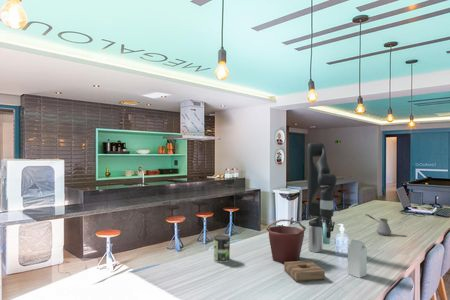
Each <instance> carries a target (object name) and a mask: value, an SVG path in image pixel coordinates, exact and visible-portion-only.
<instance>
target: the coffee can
mask: <svg viewBox="0 0 450 300" xmlns="http://www.w3.org/2000/svg"><path fill="white" fill-rule="evenodd" d="M230 240H231V237H230V236H229V235H224V234H223V235H221V234H220V235H215V236H213V261H214V262H216V263H219V264H220V263H221V264H222V263H223V264H224V263H228V262H230V260H231V258H230V257H231V256H230V253H231V252H230V249H231V248H230V247H231V245H230V243H231V241H230Z"/></svg>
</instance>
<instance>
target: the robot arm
mask: <svg viewBox="0 0 450 300" xmlns="http://www.w3.org/2000/svg"><path fill="white" fill-rule="evenodd" d="M306 151H307V152H306V153H307V196H306V197H307V198H306V199H307V200H306V201H307V202H306V214H307V215H308V216H316V218H314V219H310V220H309V221H308V251H309V252H313V253H321V252H323V223H325V227H326V230H327V238H330V239H331V237H332V233H331V232H334V228H335V221H333V220H332V217H334V206H335V205H334V191H335V188H336V184H337V176H336V174H334V173H331V169H330V166H329V163H328V159H327V153H326V152H327V150H326V147H325V144H324V143H323V142H310V143H308V144H307V149H306ZM314 157H315V158H316V157H317V158H318V157H319V159H318V160H317V162H316V164H315V161H314ZM321 186H322V187H323V186H325V187H328V188H326V189H321V191H320V201H319V202H317V201H313V200H314V197H315V196H316V193H317V192H319V190H320V188H321ZM327 225H329V226H327ZM328 227H329V229H328Z"/></svg>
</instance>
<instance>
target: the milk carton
mask: <svg viewBox="0 0 450 300" xmlns="http://www.w3.org/2000/svg"><path fill="white" fill-rule="evenodd" d="M367 251H368V249H367V247H366V245H365V243H364V241H362V240H357V239H354V238H351V240H350V242H349V244H348V247H347V275H349V276H353V277H357V278H359V279H360V278H362V277H365V276H367V275H368V274H367V273H368V272H367V261H368V258H367Z"/></svg>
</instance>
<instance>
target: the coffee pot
mask: <svg viewBox="0 0 450 300" xmlns="http://www.w3.org/2000/svg"><path fill="white" fill-rule="evenodd" d="M365 216H367V217H369V218H370V219H372V220H374V221H376V222H378V226H377V227H376V230H375V232H376V233H377V234H378V235H379V236H386V237H387V236H390V235H391V234H392V230H391V227H390V225H389V223H388V221H389V219H388V218H379V220H378V219H376V218H375V217H373V216H372V215H369V214H367V213H365Z"/></svg>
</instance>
